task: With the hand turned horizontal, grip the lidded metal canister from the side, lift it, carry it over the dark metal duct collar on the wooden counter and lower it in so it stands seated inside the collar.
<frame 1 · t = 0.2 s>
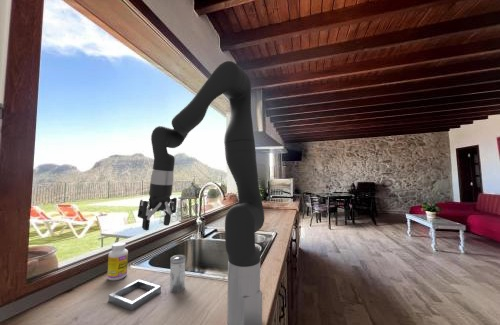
hand: (156, 227, 76), 22 cm above the countertop, tool pointing down, fingers open, 8 cm apart
duct collar: (135, 296, 71), on the countertop
lidded metal canister: (177, 288, 76), on the countertop
supplement bottle: (117, 277, 84), on the countertop
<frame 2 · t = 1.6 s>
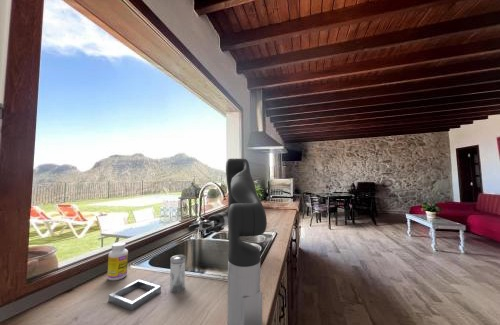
hand: (197, 230, 87), 18 cm above the countertop, tool horizontal, fingers open, 8 cm apart
nothing on the countertop moved.
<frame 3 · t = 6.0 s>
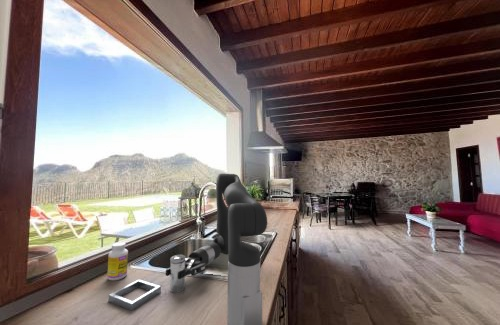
hand: (172, 274, 74), 6 cm above the countertop, tool horizontal, fingers closed on lidded metal canister, 5 cm apart
lidded metal canister: (177, 288, 76), on the countertop, touching gripper
everything else where it was.
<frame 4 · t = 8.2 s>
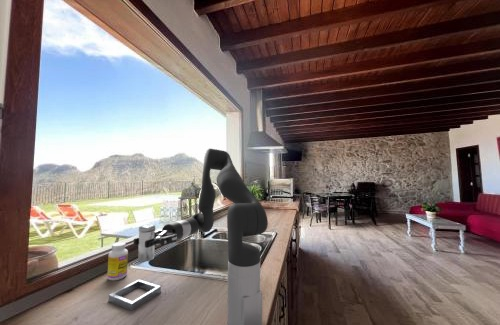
hand: (140, 243, 71), 18 cm above the countertop, tool horizontal, fingers closed on lidded metal canister, 5 cm apart
lidded metal canister: (146, 258, 73), point 12 cm above the countertop, touching gripper
everything else where it was.
when the fingers open (8 cm above the countertop, at t = 10.8 s): lidded metal canister drops 2 cm, resting in duct collar.
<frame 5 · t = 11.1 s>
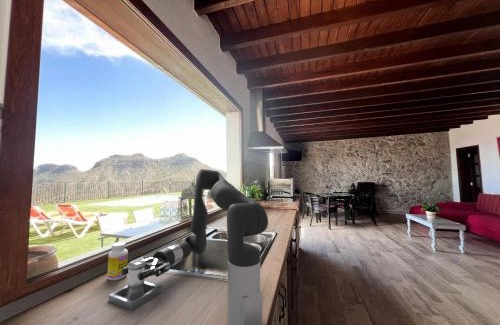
hand: (130, 274, 69), 8 cm above the countertop, tool horizontal, fingers open, 8 cm apart
lidded metal canister: (135, 296, 71), resting in duct collar
everything else where it was.
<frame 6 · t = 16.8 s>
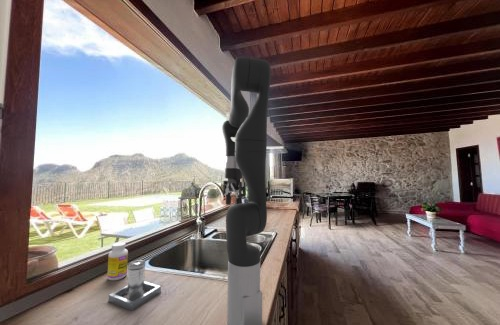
hand: (233, 205, 89), 28 cm above the countertop, tool pointing down, fingers open, 8 cm apart
nothing on the countertop moved.
at the end: lidded metal canister 0.1 cm from the duct collar (horizontally); lidded metal canister tilted 0°; lidded metal canister resting in duct collar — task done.
